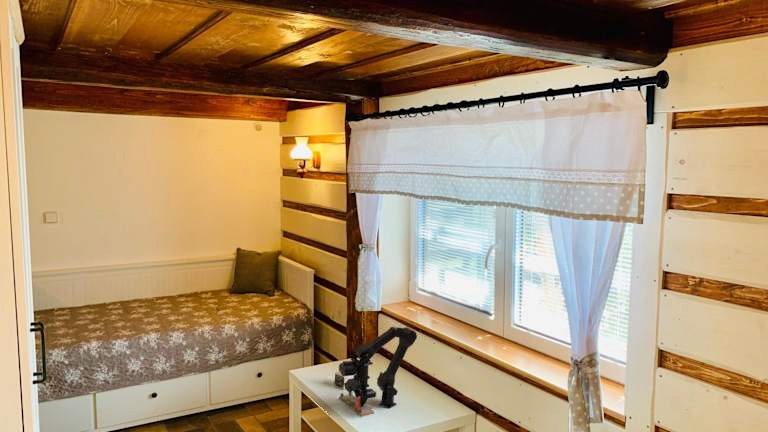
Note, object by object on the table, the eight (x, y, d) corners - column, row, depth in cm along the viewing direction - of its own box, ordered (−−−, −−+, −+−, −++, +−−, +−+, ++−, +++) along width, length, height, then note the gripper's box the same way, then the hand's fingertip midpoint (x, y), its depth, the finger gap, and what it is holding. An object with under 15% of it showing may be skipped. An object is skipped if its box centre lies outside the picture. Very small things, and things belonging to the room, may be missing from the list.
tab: (347, 400, 272) (348, 391, 272) (354, 399, 274) (355, 390, 274) (358, 408, 264) (358, 399, 263) (365, 407, 266) (365, 398, 265)
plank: (339, 398, 277) (339, 391, 276) (351, 396, 280) (351, 389, 280) (361, 416, 258) (361, 409, 258) (374, 413, 262) (374, 406, 262)
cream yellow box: (334, 385, 292) (335, 363, 291) (344, 382, 297) (345, 360, 296) (343, 390, 287) (344, 367, 286) (353, 386, 293) (354, 364, 291)
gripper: (337, 369, 268) (336, 400, 270) (356, 383, 252) (354, 416, 254) (358, 366, 274) (356, 396, 275) (377, 379, 258) (375, 412, 260)
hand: (360, 405), depth 266 cm, fingers closed on tab, 3 cm apart
